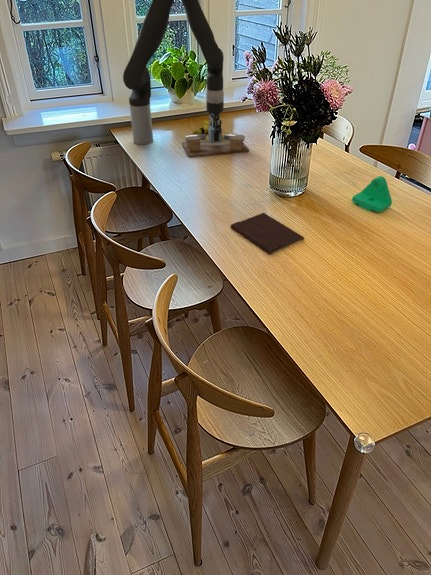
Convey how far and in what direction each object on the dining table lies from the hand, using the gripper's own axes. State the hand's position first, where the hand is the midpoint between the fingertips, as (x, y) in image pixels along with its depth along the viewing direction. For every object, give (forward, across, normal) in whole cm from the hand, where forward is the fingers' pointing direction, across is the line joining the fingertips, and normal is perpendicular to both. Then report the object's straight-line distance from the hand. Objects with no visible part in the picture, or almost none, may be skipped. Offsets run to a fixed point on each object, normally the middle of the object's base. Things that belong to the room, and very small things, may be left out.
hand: (215, 138), depth 203 cm
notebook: (+5, +76, -1) cm, 76 cm away
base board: (+4, 0, 0) cm, 4 cm away
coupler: (+1, 0, 0) cm, 1 cm away
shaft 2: (0, +4, +8) cm, 9 cm away
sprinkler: (+5, -19, +1) cm, 20 cm away
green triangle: (+5, +66, +42) cm, 79 cm away
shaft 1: (0, 0, -9) cm, 9 cm away
